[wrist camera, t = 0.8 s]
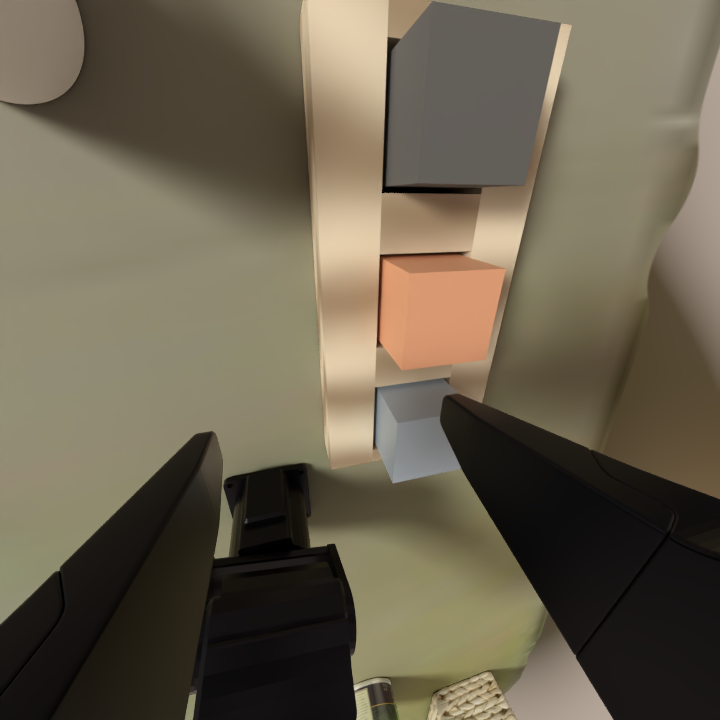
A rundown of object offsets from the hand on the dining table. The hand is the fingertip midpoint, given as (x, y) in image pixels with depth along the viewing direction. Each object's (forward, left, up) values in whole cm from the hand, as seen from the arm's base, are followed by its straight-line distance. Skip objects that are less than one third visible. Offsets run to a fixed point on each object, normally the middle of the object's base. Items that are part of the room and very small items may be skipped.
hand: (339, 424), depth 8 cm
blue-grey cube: (-9, -7, -12) cm, 16 cm away
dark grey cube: (+9, -7, -11) cm, 16 cm away
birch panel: (0, -7, -13) cm, 15 cm away
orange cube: (0, -7, -12) cm, 13 cm away
